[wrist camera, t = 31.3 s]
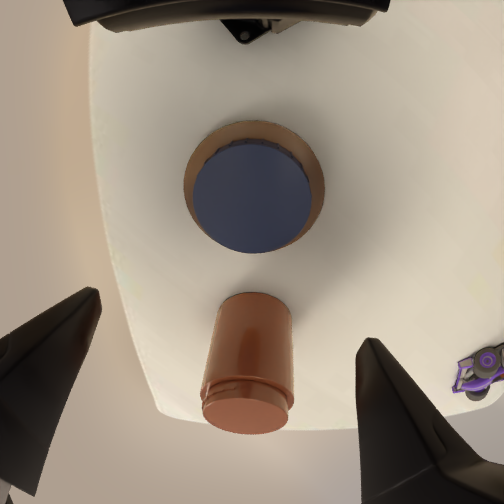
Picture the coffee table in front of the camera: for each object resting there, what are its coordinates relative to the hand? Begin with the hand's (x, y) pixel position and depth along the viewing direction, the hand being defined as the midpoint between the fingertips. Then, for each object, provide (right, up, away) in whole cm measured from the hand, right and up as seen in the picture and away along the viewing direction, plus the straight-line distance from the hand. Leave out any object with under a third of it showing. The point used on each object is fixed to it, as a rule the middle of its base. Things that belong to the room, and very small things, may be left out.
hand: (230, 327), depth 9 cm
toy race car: (+33, -11, +19) cm, 40 cm away
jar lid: (+1, +5, +9) cm, 10 cm away
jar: (+1, -4, +16) cm, 17 cm away
